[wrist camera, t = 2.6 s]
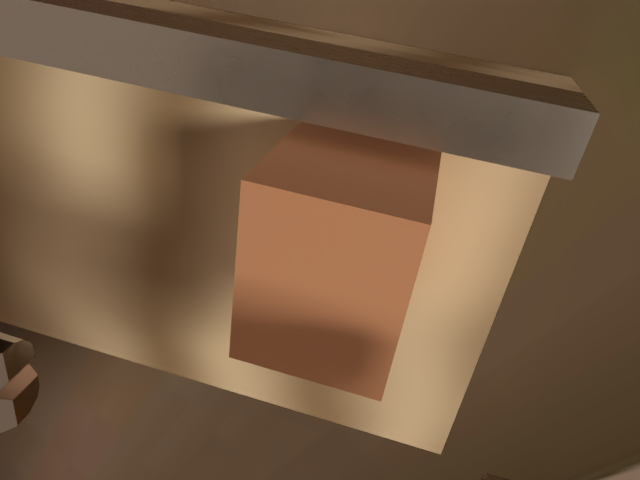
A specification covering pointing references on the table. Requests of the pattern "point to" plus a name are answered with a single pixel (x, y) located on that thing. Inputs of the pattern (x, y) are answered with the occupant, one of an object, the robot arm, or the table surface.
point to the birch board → (228, 234)
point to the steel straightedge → (307, 81)
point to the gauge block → (330, 255)
